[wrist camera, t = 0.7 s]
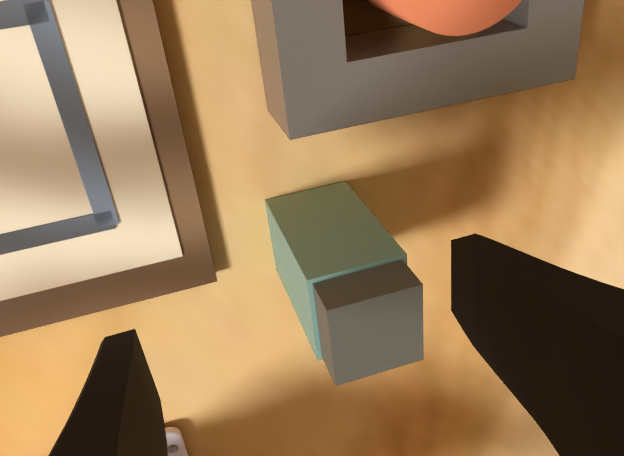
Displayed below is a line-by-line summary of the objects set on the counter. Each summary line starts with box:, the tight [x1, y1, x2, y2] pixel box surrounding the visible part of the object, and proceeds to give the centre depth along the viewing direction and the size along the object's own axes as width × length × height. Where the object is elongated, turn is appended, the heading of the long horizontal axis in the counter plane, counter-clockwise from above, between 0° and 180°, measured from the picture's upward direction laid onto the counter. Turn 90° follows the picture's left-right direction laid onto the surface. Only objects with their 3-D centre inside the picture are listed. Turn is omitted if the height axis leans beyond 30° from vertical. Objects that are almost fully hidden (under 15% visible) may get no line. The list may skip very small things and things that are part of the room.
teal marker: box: [265, 181, 424, 386], centre depth 20 cm, size 3×3×7 cm
